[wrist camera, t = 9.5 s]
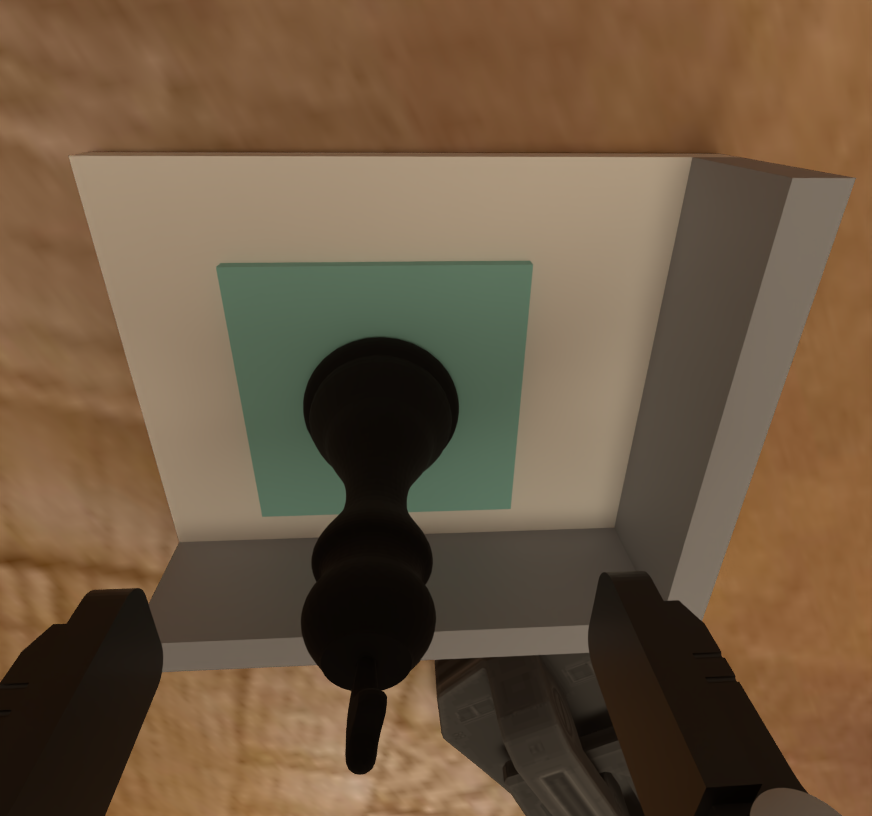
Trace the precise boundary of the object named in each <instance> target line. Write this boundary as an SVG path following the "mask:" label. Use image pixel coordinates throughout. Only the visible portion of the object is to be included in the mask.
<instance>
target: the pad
mask: <svg viewBox="0 0 872 816" xmlns="http://www.w3.org/2000/svg"><path fill="white" fill-rule="evenodd" d="M216 271H217V276H218V281H219V287H220V292H221V298H222V303H223V308H224V314H225V319H226V324H227V330H228V335H229V341H230V346H231V351H232V357H233V362H234V368H235V373H236V378H237V384H238V389H239V394H240V400H241V405H242V411H243V416H244V421H245V427H246V432H247V437H248V443H249V448H250V454H251V459H252V464H253V470H254V475H255V481H256V486H257V491H258V497H259V502H260V507H261V513H262V517H273V516H305V515H337V514H340V513H341V512H342V511H343V509H344V506H345V502H346V490H345V486H344V483H343V482H342V480H341V479H340V478H339V476H338V475H337V474H336V472H335V471H334V469H333V467H331V466H330V465H329V464H328V463H327V462H326V460H325V459H324V458H323V457H322V455H321V454H320V453H319V451H318V449H317V447H316V446H315V443H314V442H313V440H312V438H311V436H310V434H309V432H308V430H307V428H306V424H305V420H304V414H303V399H304V393H305V389H306V386H307V383H308V381H309V379H310V377H311V375H312V373H313V371H314V370H315V368H316V367H317V366H318V365H319V364H320V363H321V361H322V360H323V359H324V358H325V357H326V356H328V355H329V354H330V353H332V352H333V351H334V350H336V349H337V348H339V347H342V346H344V345H346V344H348V343H350V342H353V341H357V340H361V339H365V338H374V337H386V338H395V339H400V340H403V341H407V342H410V343H413V344H415V345H417V346H419V347H421V348H423V349H424V350H426V351H428V352H429V353H430V354H432V355H433V356H434V357H435V358H436V359H438V360H439V361H440V362H441V364H442V365H443V366H444V367H445V369H446V370H447V371H448V373H449V374H450V376H451V378H452V380H453V382H454V385H455V387H456V391H457V395H458V400H459V416H458V422H457V426H456V429H455V432H454V434H453V437H452V439H451V440H450V442H449V443H448V445H447V446H446V448H445V449H444V450H443V452H442V454H441V455H440V456H439V458H438V459H437V460H436V461H435V462H434V463H433V464H432V465H431V466H430V467H429V468H428V469H427V470H425V471H424V472H423V473H422V475H421V476H420V477H419V478H418V479H417V480H416V481H415V482H414V483H413V485H412V486H411V487H410V489H409V492H408V496H407V510H408V512H433V511H465V510H497V509H511V500H512V489H513V479H514V468H515V457H516V446H517V435H518V424H519V413H520V402H521V391H522V381H523V370H524V359H525V348H526V337H527V326H528V315H529V304H530V293H531V283H532V272H533V264H532V263H531V261H415V262H284V263H220V264H219V265H218V266H217V267H216Z"/></svg>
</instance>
